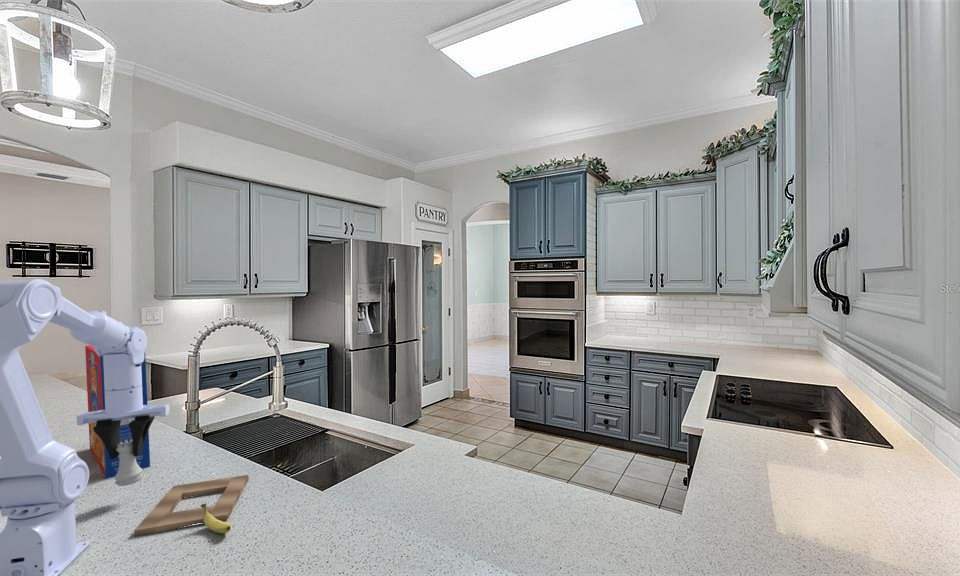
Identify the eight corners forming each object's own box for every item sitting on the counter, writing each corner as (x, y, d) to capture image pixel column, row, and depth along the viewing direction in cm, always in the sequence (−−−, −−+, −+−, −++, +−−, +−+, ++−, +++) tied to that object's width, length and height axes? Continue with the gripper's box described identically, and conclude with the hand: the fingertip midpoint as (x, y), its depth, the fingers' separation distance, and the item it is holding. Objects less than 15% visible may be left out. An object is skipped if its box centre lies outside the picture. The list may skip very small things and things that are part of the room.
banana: (198, 528, 74) (197, 505, 74) (208, 523, 76) (207, 501, 76) (225, 540, 70) (224, 516, 70) (235, 535, 72) (234, 511, 72)
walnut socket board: (227, 519, 77) (227, 514, 77) (134, 536, 72) (134, 530, 72) (248, 479, 93) (248, 474, 93) (173, 490, 89) (173, 485, 89)
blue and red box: (89, 449, 114) (85, 345, 114) (128, 440, 120) (123, 342, 120) (105, 478, 96) (100, 355, 95) (150, 466, 102) (145, 350, 101)
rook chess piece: (125, 488, 82) (121, 448, 82) (109, 485, 84) (105, 446, 83) (149, 476, 87) (145, 438, 86) (133, 473, 88) (129, 436, 87)
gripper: (174, 379, 90) (176, 443, 91) (90, 386, 86) (93, 453, 86) (160, 387, 84) (163, 455, 84) (68, 395, 79) (71, 467, 80)
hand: (126, 455), depth 85 cm, fingers closed on rook chess piece, 3 cm apart
